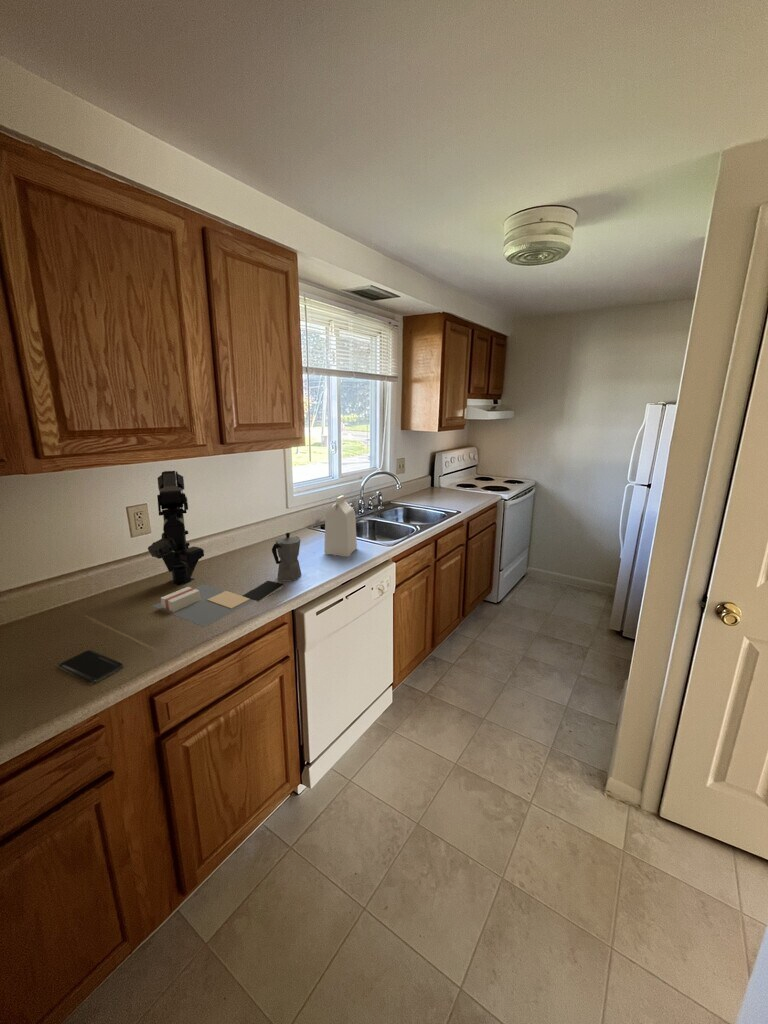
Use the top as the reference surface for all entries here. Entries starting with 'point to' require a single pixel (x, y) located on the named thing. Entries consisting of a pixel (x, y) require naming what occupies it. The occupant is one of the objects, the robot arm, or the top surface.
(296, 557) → the coffeepot
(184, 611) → the mat
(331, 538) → the milk
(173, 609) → the card box
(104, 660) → the phone
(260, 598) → the smartphone
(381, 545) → the top surface
